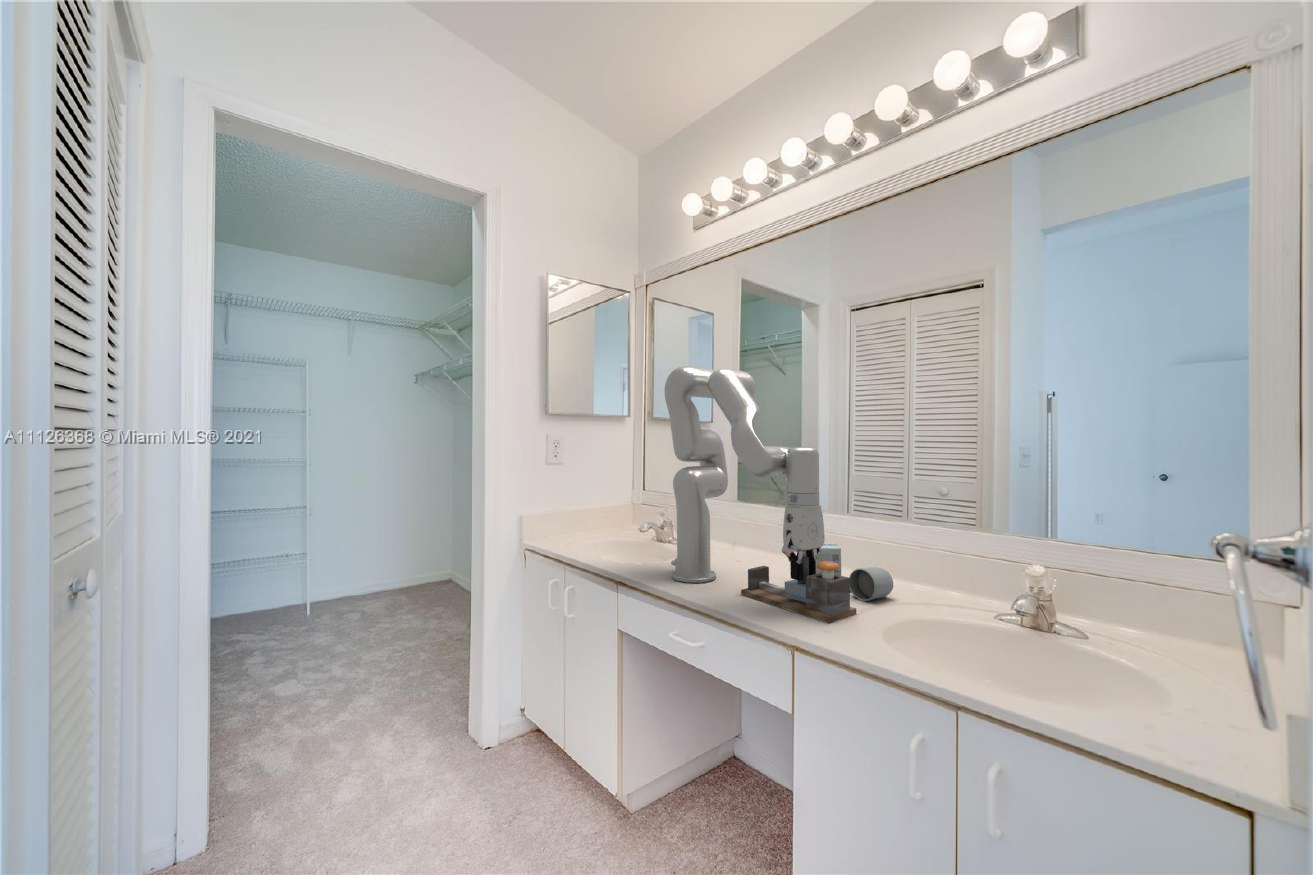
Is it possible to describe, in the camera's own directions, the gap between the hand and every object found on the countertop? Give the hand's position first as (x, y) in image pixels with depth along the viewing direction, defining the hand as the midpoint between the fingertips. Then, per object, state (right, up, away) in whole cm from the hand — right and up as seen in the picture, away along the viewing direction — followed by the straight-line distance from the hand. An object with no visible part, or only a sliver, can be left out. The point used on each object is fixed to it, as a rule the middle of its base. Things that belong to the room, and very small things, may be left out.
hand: (803, 577), depth 119 cm
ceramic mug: (+18, -7, +7) cm, 20 cm away
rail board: (-1, -7, +2) cm, 7 cm away
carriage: (0, -5, 0) cm, 5 cm away
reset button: (+4, 0, -5) cm, 7 cm away
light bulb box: (+9, -7, +18) cm, 21 cm away
